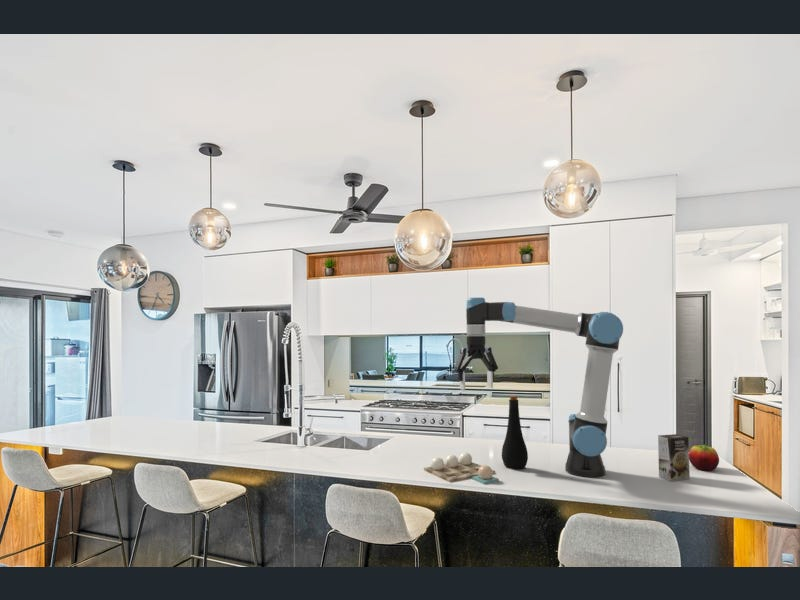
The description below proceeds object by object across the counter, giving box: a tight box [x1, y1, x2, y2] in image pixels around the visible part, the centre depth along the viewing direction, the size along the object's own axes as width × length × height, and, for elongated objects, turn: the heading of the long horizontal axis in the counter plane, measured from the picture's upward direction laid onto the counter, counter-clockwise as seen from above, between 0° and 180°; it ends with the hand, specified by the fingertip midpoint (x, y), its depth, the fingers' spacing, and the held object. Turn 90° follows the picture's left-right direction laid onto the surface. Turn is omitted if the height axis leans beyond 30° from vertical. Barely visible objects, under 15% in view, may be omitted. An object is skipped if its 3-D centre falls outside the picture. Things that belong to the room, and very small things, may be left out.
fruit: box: [689, 444, 720, 472], centre depth 204 cm, size 11×11×10 cm
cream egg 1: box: [430, 456, 445, 471], centre depth 199 cm, size 6×6×6 cm
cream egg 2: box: [444, 454, 459, 468], centre depth 202 cm, size 6×6×6 cm
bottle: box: [501, 395, 529, 470], centre depth 205 cm, size 11×11×30 cm
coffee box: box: [657, 433, 691, 482], centre depth 192 cm, size 9×6×16 cm
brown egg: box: [478, 464, 494, 480], centre depth 187 cm, size 6×6×6 cm
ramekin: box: [471, 475, 500, 485], centre depth 187 cm, size 7×7×2 cm
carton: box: [423, 461, 496, 483], centre depth 198 cm, size 22×18×2 cm
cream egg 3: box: [458, 452, 473, 466], centre depth 206 cm, size 6×6×6 cm
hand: (476, 388), depth 200 cm, fingers open, 13 cm apart
